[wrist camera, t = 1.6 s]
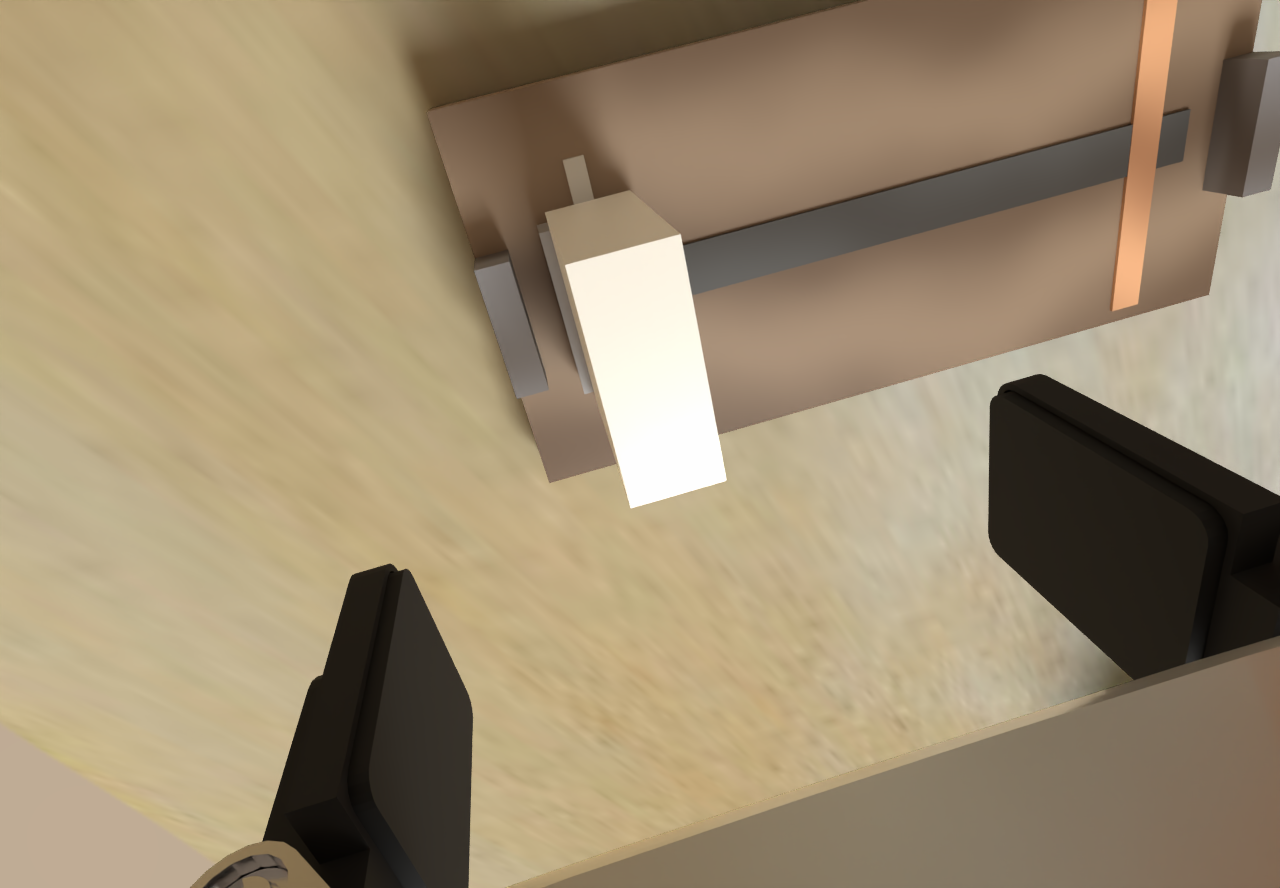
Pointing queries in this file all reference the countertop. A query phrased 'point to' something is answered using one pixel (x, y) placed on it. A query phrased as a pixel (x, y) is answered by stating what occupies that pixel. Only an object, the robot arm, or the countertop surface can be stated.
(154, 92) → the countertop surface
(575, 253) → the block
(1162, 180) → the slider board
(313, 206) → the countertop surface
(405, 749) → the robot arm
